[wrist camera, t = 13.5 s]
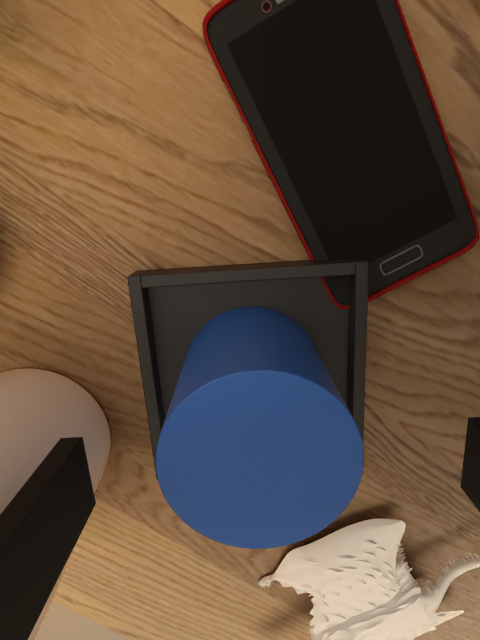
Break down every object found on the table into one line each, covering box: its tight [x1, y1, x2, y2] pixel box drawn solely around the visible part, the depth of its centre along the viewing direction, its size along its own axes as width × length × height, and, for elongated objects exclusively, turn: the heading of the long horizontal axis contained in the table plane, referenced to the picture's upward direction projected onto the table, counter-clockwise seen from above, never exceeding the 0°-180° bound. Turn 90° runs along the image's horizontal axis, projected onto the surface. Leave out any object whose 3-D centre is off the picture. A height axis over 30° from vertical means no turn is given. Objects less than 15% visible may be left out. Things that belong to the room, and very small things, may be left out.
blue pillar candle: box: [156, 307, 364, 549], centre depth 17 cm, size 7×7×8 cm
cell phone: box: [203, 0, 479, 310], centre depth 18 cm, size 8×15×1 cm, turn 28°
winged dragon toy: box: [258, 518, 480, 640], centre depth 23 cm, size 18×10×4 cm, turn 124°
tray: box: [128, 258, 369, 480], centre depth 20 cm, size 11×11×2 cm
